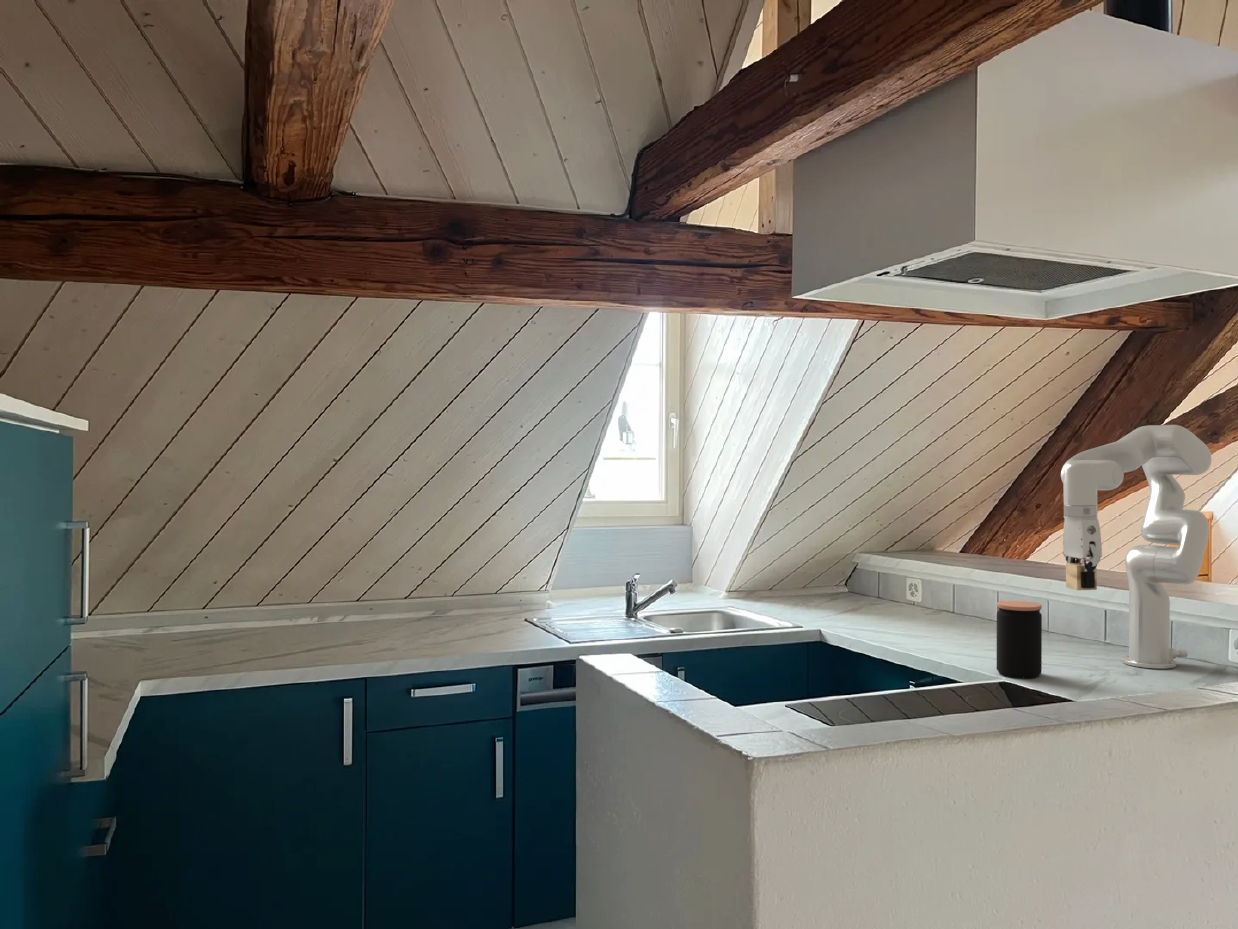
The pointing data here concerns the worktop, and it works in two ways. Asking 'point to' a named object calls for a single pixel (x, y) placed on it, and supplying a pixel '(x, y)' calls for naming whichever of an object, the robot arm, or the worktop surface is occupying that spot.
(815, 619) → the worktop surface
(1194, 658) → the worktop surface
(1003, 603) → the coffee jar
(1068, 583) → the oak block
